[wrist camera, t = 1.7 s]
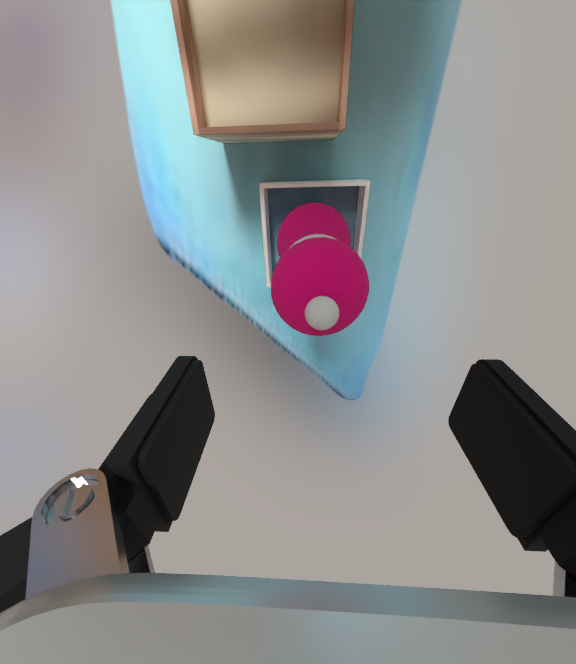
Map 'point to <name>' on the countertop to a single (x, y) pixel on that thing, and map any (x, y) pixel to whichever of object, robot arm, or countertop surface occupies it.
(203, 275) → the countertop surface
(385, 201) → the countertop surface
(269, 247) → the collar
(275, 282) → the pepper mill
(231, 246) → the countertop surface
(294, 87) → the wooden box
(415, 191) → the countertop surface
